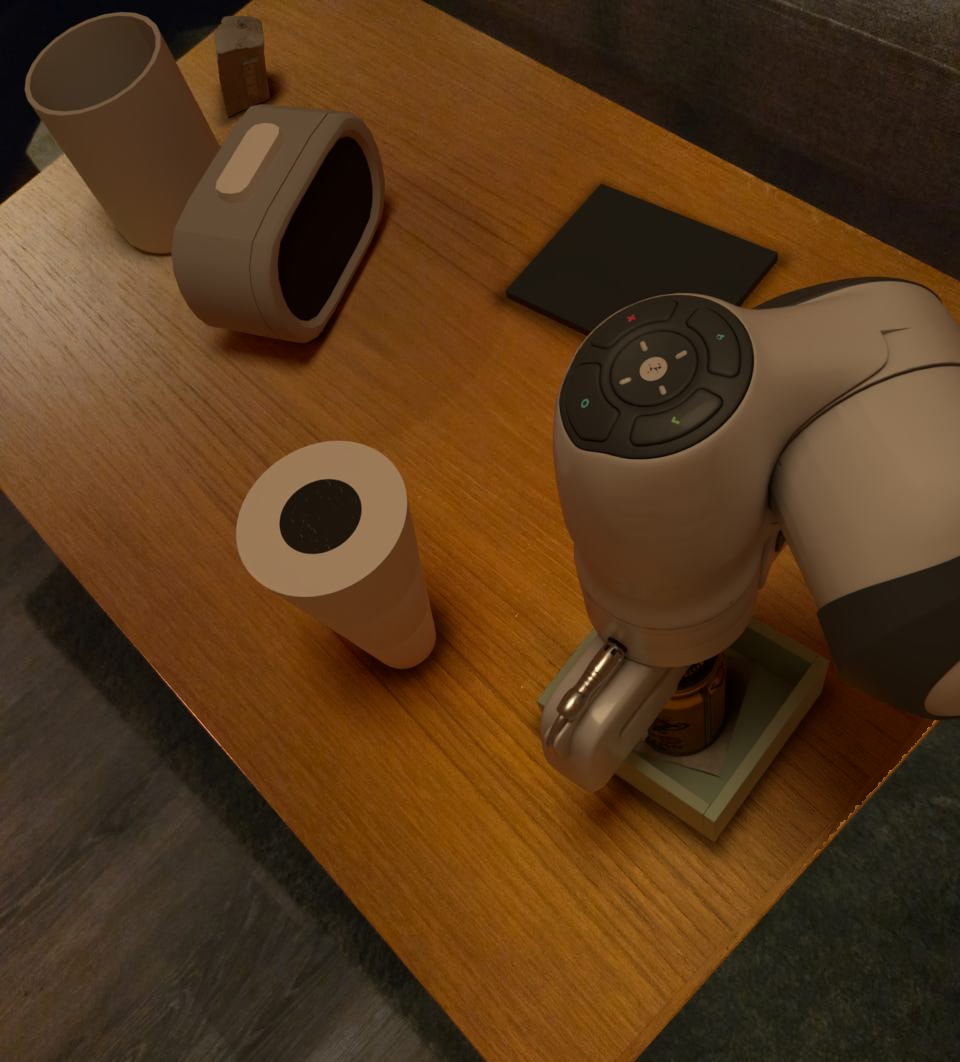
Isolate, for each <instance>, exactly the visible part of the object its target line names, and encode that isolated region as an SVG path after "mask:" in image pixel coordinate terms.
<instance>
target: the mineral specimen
mask: <svg viewBox="0 0 960 1062" xmlns="http://www.w3.org/2000/svg"><path fill="white" fill-rule="evenodd" d="M213 34H214V35H213V37H214V45H215V54H216V64H217V72H218V79H219V85H220V87H221V94H222V98H223V99H222V100H223V105H224V108H225V113H226V116H227V117H231V116H233V115H235V114H237V113H239V112H242V111H245V110H248V109H249V108H250V106H255V105H259V104H263V102H266V101H268V100H270V97H271V96H270V95H271V94H270V88H269V80H268V73H267V66H266V56H265V55H266V54H265V36H264V29H263V22H262V20H261V19H260V18H257V17H253V16H251V15H227V16H223V17H222V19H221V23H220V24H219V25H218V27H217V28H215V29H214V33H213Z"/></svg>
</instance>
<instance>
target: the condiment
mask: <svg viewBox="0 0 960 1062" xmlns="http://www.w3.org/2000/svg"><path fill="white" fill-rule="evenodd" d="M754 664H755V661H750V660H747V659H741V658H737V657H733V656H729V655H725V654H724V651H722V652H720V653H719V654H717V655H715V656H713V657H711V658H709V659H707V660H704V661H702V662H699V663H695V664H692V665H691V666H690V668H689V669H688V670H687V672H686V673H685V674H684V675H683V677H682V678H681V680H680V682H679V683H678V687H677V690H676V692H675V694H674V695H673V696H672V698H671V699H670V700H669V701H668V703H667V704H666V705H665V707H664V708H663V709H662V711H661V712H660V713H659V715H658V716H657V717H656V718H657V719H656V721H657V724H656V725H655V727H654V728H653V729H652V731H651V732H650V734H649V735H648V736H647V737H646V739H645V740H644V741H640V740H639V741H638V743H637V744H636V745H635V747H634V748H633V749H632V750H635V751H638V752H641V753H644V754H647V755H650V756H654V757H657V758H660V759H663V760H667V761H670V762H673V763H677V764H680V765H683V766H687V767H690V768H693V769H698V770H701V771H704V772H708V773H711V774H714V775H717V776H720V774H721V770H722V767H723V764H724V761H725V758H726V755H727V751H728V748H729V745H730V742H731V739H732V735H733V732H734V729H735V726H736V722H737V719H738V716H739V713H740V709H741V706H742V703H743V700H744V697H745V693H746V690H747V687H748V684H749V680H750V677H751V674H752V671H753V667H754Z"/></svg>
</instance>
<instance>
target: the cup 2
mask: <svg viewBox="0 0 960 1062" xmlns="http://www.w3.org/2000/svg"><path fill="white" fill-rule="evenodd" d="M409 502H410V501H409V498H408V494H407V489H406V486H405V482H404V480H403V477H402V474H401V473H400V471H399V470H398V468H397V467H396V466H395V464H394V463H393V462H392V461H391V460H390V459H389V457H387V456H385V454H383V453H382V452H380V451H378V449H375V448H374V447H371V446H369V445H366V444H364V443H363V444H362V443H359V442H355V441H350V440H328V441H322V442H315V443H313V444H309V445H306V446H303V447H301V448H298V449H296V450H294V451H292V452H290V453H288V454H286V455H284V456H283V457H281V458H280V459H278V460H277V461H275V462H274V463H273V464H272V465H271V466H269V467H268V468H267V469H266V470H265V471H264V472H263V473H262V474H261V475H260V476H259V478H257V480H256V481H255V482H254V483H253V485H252V486H251V488H250V489H249V491H248V492H247V494H246V496H245V498H244V500H243V502H242V504H241V507H240V509H239V514H238V516H237V521H236V528H235V541H236V548H237V552H238V554H239V555H238V556H239V558H240V560H241V562H242V565H243V566H244V568H245V569H246V571H247V572H248V573H249V574H250V575H251V577H252V578H253V579H254V580H256V582H258V583H259V584H261V585H262V586H263V587H265V588H266V589H268V590H270V591H271V592H273V593H274V594H275V595H277V596H279V597H280V598H282V599H283V600H284V601H286V602H288V603H290V604H291V605H293V606H294V607H296V608H297V609H298V610H300V611H302V612H303V613H305V614H306V615H308V616H310V617H312V618H313V619H315V620H316V621H317V622H320V623H321V624H323V625H324V626H325V627H327V628H329V629H331V630H332V631H334V632H335V633H336V634H339V635H340V636H342V637H343V638H345V639H347V640H348V641H349V642H351V643H353V644H354V645H355V646H357V647H358V648H360V649H361V650H363V651H364V652H366V653H367V654H369V655H370V656H372V657H374V658H375V659H377V660H378V661H380V663H383V664H384V665H386V666H387V667H389V668H392V669H396V670H397V669H398V670H405V669H406V670H407V669H410V668H414V667H416V666H418V665H420V664H421V663H422V662H424V661H425V660H426V659H427V658H428V657H429V656H430V655H431V653H432V652H433V650H434V647H435V645H436V642H437V641H436V640H437V632H436V627H435V621H434V617H433V613H432V608H431V603H430V599H429V594H428V591H427V585H426V581H425V576H424V571H423V565H422V562H421V556H420V550H419V546H418V541H417V535H416V530H415V527H414V522H413V516H412V512H411V508H410V503H409Z"/></svg>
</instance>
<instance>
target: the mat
mask: <svg viewBox="0 0 960 1062" xmlns="http://www.w3.org/2000/svg"><path fill="white" fill-rule="evenodd" d="M778 257H779V253H778V252H777V251H775V250H771V249H769V248H767V247H765V246H762V245H760V244H757V243H754V242H751V241H750V240H747V239H744V238H741V237H740V236H739V237H738V236H736V235H733V234H731V233H728V232H726V231H724V230H721V229H718V228H716V227H713V226H711V225H708V224H706V223H703V222H701V221H698V220H696V219H693V218H691V217H688V216H686V215H684V214H683V215H682V214H681V213H678V212H675V211H673V210H670V209H667V208H665V207H662V206H661V205H660V206H659V205H658V204H656V203H652V202H650V201H647V200H644V199H643V198H640V197H637V196H635V195H632V194H629V193H626V192H624V191H621V190H620V189H617V188H614V187H611V186H609V185H607V184H603V183H600V184H599V185H598V186H597V187H596V188H595V190H594V191H593V192H592V193H590V195H589V196H588V197H587V199H585V201H583V203H582V204H581V205H580V206H579V207H578V209H576V211H575V212H574V213H573V214H572V216H571V217H569V219H568V220H567V221H566V222H565V223H564V224H563V225H562V226H561V228H560V229H559V230H558V231H557V232H556V233H555V235H553V236H552V238H551V239H550V240H549V241H548V242H547V243H546V244H545V246H544V247H543V248H542V249H541V250H540V251H539V252H538V253H537V254H536V256H535V257H534V258H533V259H532V260H531V261H530V263H529V264H528V265H527V266H526V267H525V268H524V269H523V270H522V272H521V273H520V274H519V275H518V276H517V277H516V278H515V279H514V280H513V281H512V282H511V284H510V285H509V286H508V287H507V288H506V289H505V296H506V298H507V299H510V300H512V301H514V302H516V303H518V304H521V305H522V306H525V307H527V308H529V309H531V310H533V311H535V312H538V313H539V314H541V315H544V316H546V317H548V318H550V319H551V320H553V321H556V322H559V323H560V324H563V325H565V326H567V327H568V328H571V329H573V330H575V331H576V332H577V331H578V332H580V333H582V334H583V335H586V336H588V335H589V334H590V333H591V332H592V331H593V330H594V329H595V328H596V327H597V326H598V325H599V324H601V323H602V322H603V321H604V320H606V319H607V318H608V317H610V316H611V315H613V314H614V313H616V312H617V311H619V310H621V309H623V308H625V307H627V306H630V305H632V304H634V303H637V302H639V301H642V300H645V299H648V298H651V297H656V296H660V295H667V294H676V293H692V294H701V295H706V296H711V297H714V298H717V299H720V300H723V301H725V302H728V303H730V304H733V305H735V306H738V307H741V305H742V304H743V303H744V302H745V300H746V299H747V298H748V296H750V294H751V293H752V292H753V290H754V289H755V288H756V287H757V286H758V285H759V283H760V282H761V281H762V279H763V278H764V277H765V276H766V275H767V273H769V272H770V270H771V269H772V267H773V266H774V265H775V264H776V263H777V261H778Z"/></svg>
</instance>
